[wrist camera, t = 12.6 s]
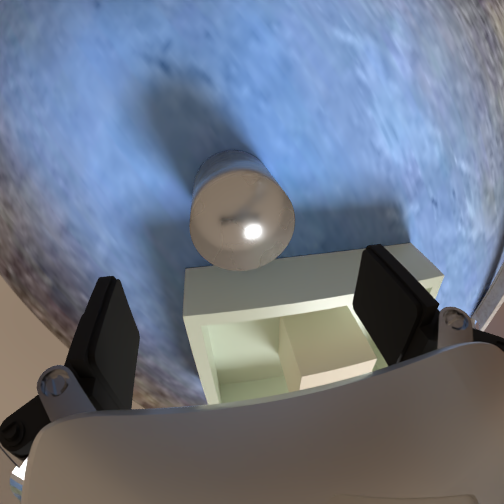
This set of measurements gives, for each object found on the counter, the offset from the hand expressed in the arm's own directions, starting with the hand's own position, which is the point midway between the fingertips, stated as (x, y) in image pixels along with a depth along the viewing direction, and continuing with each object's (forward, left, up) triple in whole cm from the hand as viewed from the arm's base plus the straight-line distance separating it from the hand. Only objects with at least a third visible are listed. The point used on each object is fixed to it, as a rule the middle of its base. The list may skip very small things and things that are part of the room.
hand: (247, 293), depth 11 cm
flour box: (+13, +7, -10) cm, 18 cm away
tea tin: (-1, 0, -10) cm, 10 cm away
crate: (+13, +6, -10) cm, 18 cm away
